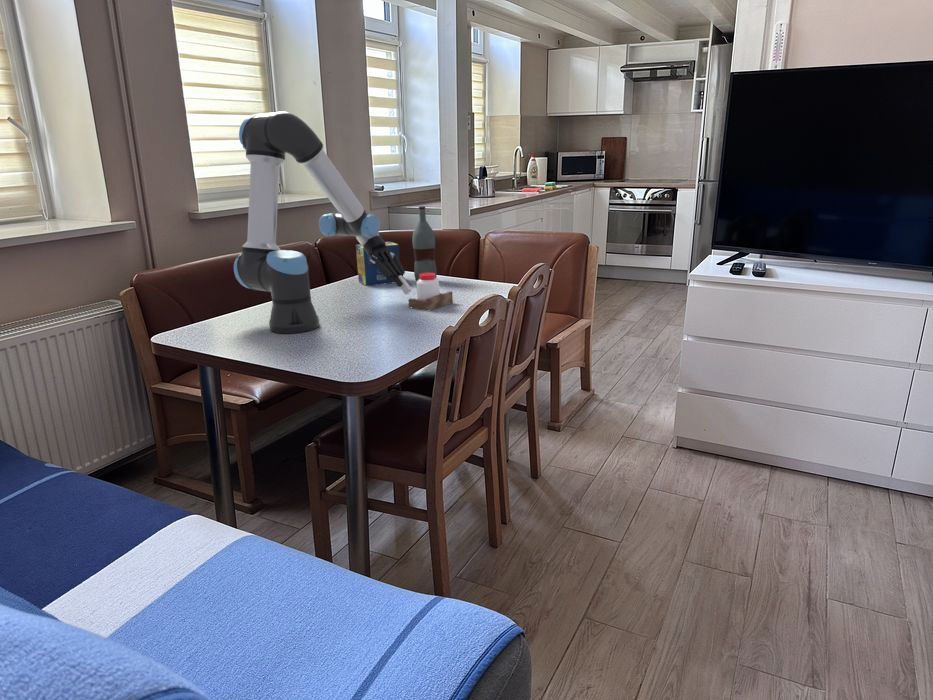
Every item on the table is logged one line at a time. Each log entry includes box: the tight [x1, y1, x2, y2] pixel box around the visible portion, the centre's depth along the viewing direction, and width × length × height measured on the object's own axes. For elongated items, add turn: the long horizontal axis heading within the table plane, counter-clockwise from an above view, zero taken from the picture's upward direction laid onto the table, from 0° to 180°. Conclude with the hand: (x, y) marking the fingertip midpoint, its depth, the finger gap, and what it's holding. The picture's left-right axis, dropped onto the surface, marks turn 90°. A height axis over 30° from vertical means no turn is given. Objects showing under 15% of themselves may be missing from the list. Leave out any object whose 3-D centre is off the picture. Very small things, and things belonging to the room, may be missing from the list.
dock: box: [408, 290, 454, 311], centre depth 226 cm, size 13×9×4 cm
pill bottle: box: [415, 273, 441, 300], centre depth 225 cm, size 8×8×11 cm
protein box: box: [355, 241, 401, 287], centre depth 269 cm, size 10×15×16 cm
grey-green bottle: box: [411, 206, 438, 283], centre depth 263 cm, size 9×9×30 cm
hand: (408, 292), depth 231 cm, fingers closed
